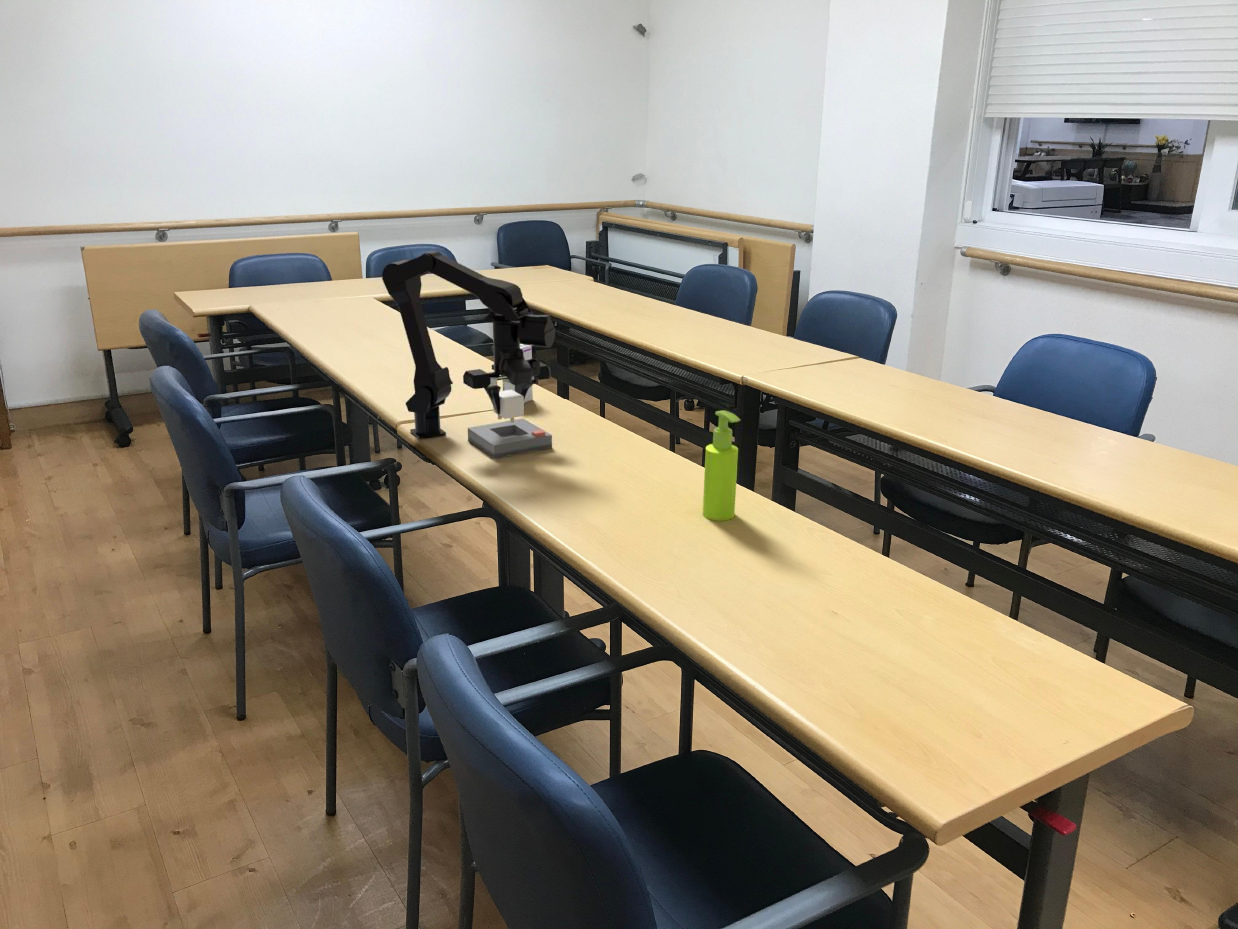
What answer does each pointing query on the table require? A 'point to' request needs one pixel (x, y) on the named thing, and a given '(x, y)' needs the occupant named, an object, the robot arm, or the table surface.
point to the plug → (510, 405)
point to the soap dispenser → (721, 471)
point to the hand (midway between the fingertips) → (508, 412)
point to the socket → (509, 438)
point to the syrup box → (508, 386)
